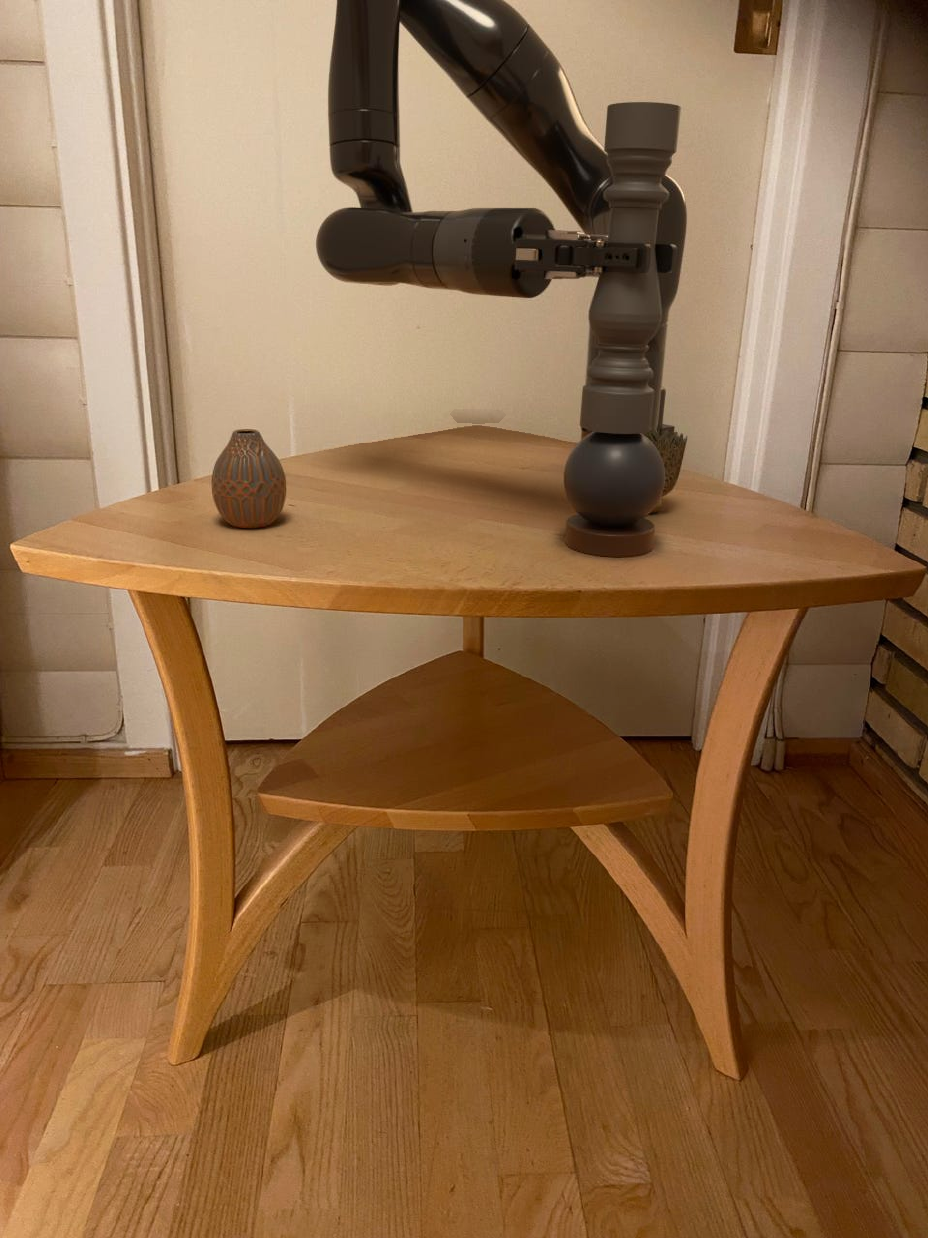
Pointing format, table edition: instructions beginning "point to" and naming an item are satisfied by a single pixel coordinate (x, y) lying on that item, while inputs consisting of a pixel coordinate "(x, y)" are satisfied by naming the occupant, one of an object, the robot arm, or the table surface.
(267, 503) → the vase
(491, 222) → the robot arm
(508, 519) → the table surface
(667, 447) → the spiky textured bowl
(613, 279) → the candle holder
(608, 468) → the ball on stand
